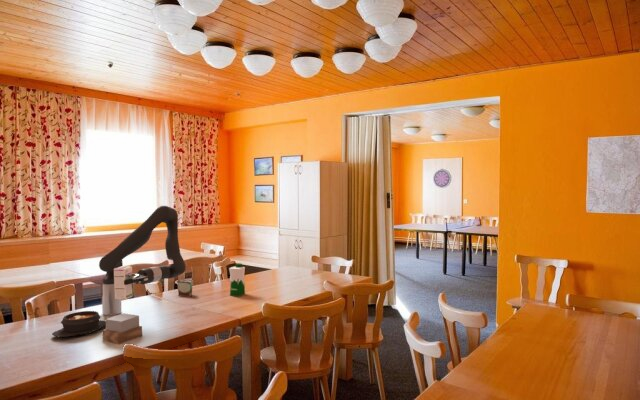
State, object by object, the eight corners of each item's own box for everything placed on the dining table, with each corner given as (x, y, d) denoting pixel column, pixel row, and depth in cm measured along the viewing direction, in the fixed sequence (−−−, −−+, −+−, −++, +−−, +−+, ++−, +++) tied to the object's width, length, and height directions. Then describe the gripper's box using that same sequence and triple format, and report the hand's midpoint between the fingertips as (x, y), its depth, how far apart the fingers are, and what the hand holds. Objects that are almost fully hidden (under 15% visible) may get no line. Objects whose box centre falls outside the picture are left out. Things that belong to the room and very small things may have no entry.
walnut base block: (102, 340, 194) (102, 329, 194) (126, 332, 204) (125, 322, 204) (119, 345, 188) (118, 334, 188) (142, 336, 198) (142, 326, 198)
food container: (197, 294, 278) (197, 279, 277) (191, 297, 272) (191, 281, 272) (183, 293, 283) (183, 278, 282) (176, 295, 277) (176, 280, 277)
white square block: (105, 329, 194) (105, 319, 193) (124, 323, 203) (123, 313, 203) (121, 332, 189) (121, 321, 189) (139, 326, 199) (139, 315, 198)
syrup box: (125, 299, 193) (124, 268, 192) (114, 299, 194) (113, 268, 194) (133, 296, 198) (132, 266, 198) (122, 296, 200) (121, 265, 199)
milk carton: (246, 293, 279) (246, 263, 279) (239, 296, 271) (238, 265, 270) (235, 292, 283) (235, 262, 282) (227, 295, 274) (227, 265, 274)
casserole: (66, 343, 190) (66, 325, 190) (43, 337, 199) (43, 319, 199) (116, 327, 212) (116, 310, 211) (94, 322, 221) (93, 306, 220)
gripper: (140, 266, 212) (109, 272, 198) (159, 268, 205) (129, 275, 190) (140, 281, 212) (109, 288, 198) (159, 284, 205) (129, 291, 191)
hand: (119, 281), depth 194 cm, fingers closed on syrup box, 7 cm apart
